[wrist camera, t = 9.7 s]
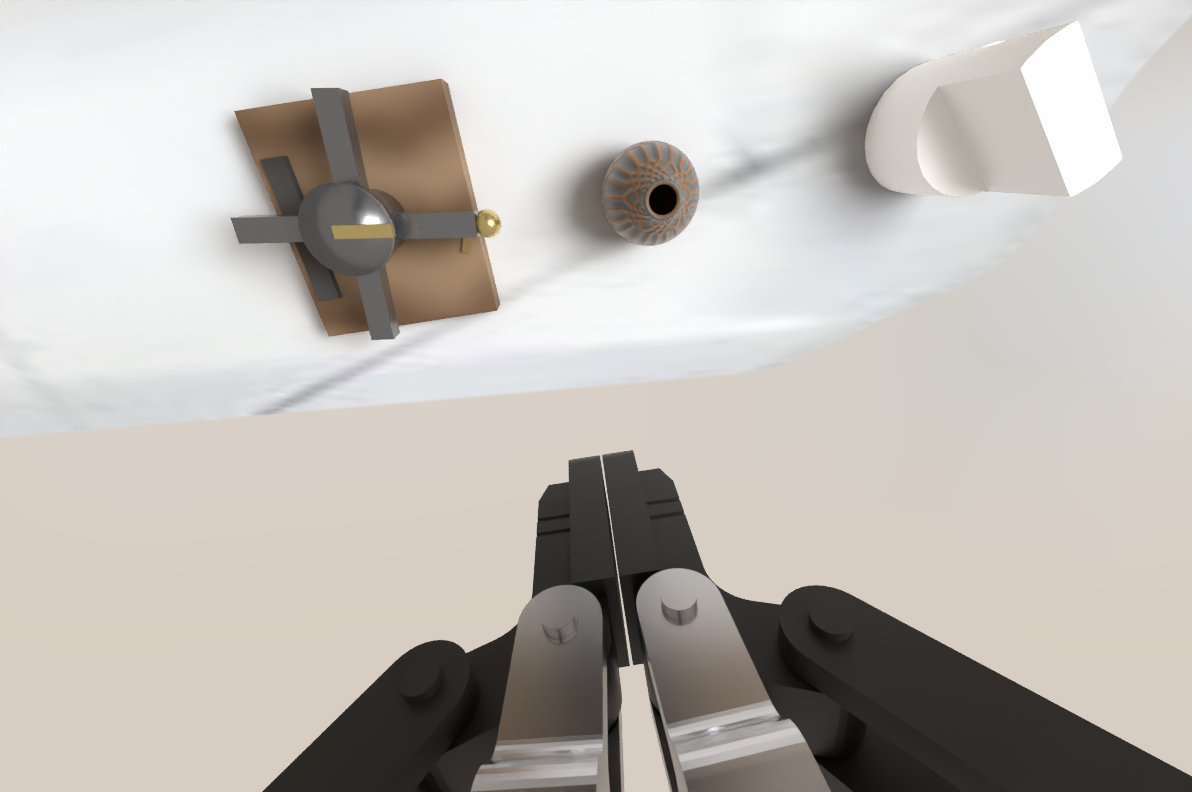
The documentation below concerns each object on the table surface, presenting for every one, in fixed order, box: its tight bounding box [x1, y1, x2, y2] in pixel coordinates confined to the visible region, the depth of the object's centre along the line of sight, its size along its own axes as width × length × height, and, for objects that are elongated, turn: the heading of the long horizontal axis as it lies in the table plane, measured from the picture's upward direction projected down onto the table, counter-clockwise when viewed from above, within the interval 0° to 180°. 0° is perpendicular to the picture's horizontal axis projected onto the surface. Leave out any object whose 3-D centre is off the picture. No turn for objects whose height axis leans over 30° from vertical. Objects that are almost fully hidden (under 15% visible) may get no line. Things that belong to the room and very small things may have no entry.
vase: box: [601, 141, 699, 246], centre depth 33 cm, size 7×7×9 cm
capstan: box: [231, 88, 501, 340], centre depth 32 cm, size 17×16×6 cm
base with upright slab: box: [865, 21, 1122, 198], centre depth 31 cm, size 9×9×12 cm
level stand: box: [234, 79, 500, 336], centre depth 35 cm, size 16×14×3 cm
